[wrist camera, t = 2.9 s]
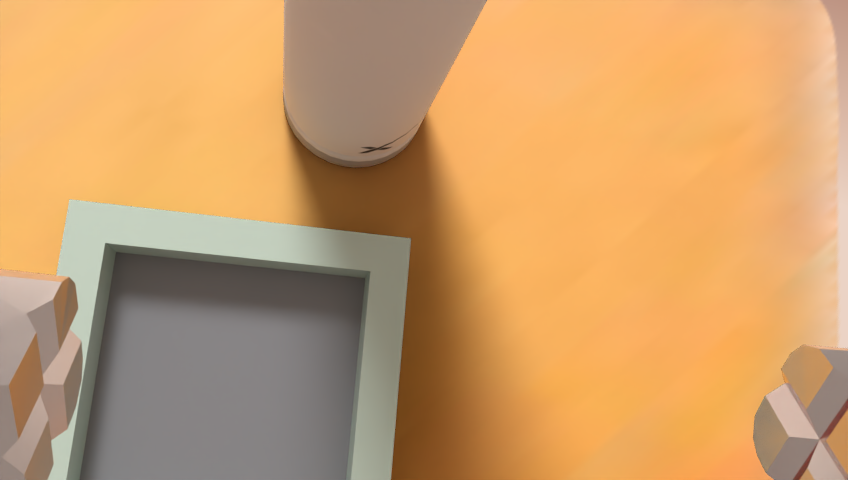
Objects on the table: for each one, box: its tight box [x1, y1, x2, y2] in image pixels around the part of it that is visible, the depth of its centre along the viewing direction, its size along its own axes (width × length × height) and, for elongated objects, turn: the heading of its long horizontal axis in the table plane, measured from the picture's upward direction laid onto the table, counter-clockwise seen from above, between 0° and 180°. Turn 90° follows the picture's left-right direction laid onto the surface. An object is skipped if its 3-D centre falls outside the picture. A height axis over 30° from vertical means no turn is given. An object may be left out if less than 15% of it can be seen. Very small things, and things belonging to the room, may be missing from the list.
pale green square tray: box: [48, 199, 411, 480], centre depth 30 cm, size 13×13×3 cm
